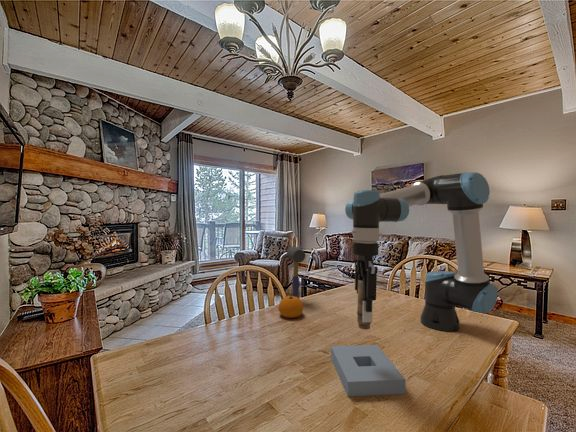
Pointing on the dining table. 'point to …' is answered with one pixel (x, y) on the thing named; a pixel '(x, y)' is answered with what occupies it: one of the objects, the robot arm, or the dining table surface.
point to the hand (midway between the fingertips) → (364, 318)
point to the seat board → (366, 371)
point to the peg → (361, 307)
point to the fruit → (290, 307)
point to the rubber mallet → (295, 267)
